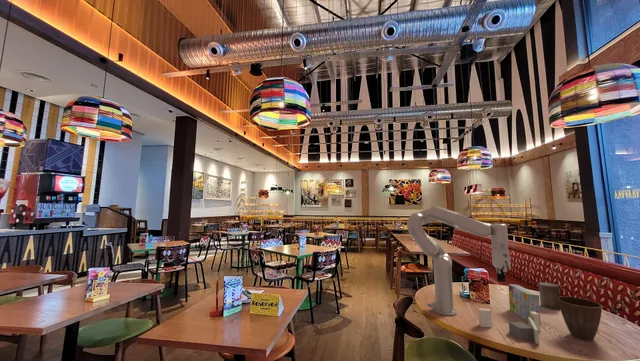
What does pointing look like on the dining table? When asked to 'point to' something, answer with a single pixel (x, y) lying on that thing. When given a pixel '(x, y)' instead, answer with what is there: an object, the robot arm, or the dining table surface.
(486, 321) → the pair of cream posts
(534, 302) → the snack box
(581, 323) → the plant pot
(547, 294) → the pillar candle
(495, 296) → the dining table surface
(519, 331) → the block
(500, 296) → the dining table surface
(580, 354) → the dining table surface
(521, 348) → the dining table surface
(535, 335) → the door
